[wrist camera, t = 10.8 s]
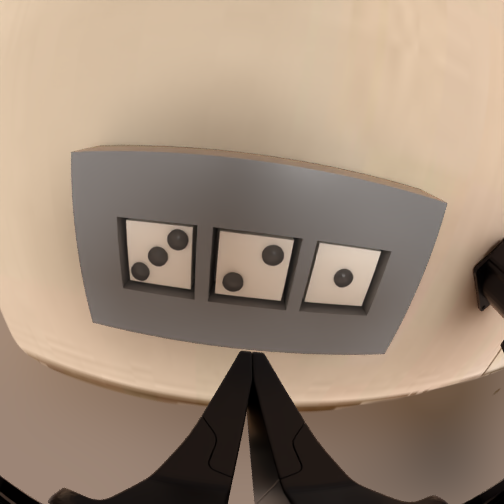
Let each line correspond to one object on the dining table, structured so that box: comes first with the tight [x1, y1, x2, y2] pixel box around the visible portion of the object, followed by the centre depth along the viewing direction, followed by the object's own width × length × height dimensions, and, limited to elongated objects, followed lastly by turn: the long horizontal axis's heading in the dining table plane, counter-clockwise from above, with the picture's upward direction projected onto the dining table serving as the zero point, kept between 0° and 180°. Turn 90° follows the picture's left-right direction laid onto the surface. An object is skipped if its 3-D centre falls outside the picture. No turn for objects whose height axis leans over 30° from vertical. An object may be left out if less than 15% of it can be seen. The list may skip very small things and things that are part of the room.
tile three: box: [126, 218, 198, 289], centre depth 16 cm, size 4×4×2 cm
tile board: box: [71, 145, 447, 355], centre depth 17 cm, size 22×12×3 cm, turn 83°
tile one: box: [303, 241, 381, 306], centre depth 17 cm, size 4×4×2 cm
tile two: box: [215, 228, 294, 301], centre depth 16 cm, size 4×4×2 cm
